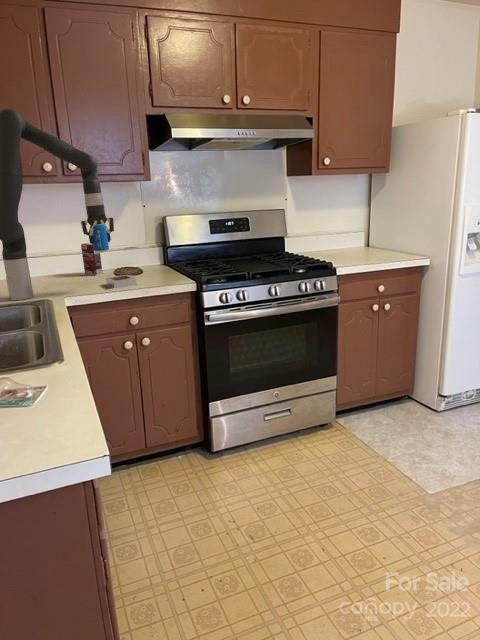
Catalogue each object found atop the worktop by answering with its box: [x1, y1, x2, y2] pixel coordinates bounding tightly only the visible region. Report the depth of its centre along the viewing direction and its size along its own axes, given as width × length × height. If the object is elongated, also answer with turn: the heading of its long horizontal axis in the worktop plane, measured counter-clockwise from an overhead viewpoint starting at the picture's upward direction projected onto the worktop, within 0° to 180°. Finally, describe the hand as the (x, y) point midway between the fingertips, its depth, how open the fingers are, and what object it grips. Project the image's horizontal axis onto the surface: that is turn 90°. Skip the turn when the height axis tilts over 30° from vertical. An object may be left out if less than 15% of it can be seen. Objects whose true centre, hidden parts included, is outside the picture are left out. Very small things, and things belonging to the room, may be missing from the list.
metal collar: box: [105, 274, 138, 289], centre depth 219 cm, size 10×10×3 cm
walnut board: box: [99, 284, 114, 291], centre depth 219 cm, size 15×10×1 cm, turn 124°
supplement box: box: [80, 242, 103, 276], centre depth 248 cm, size 9×5×16 cm, turn 60°
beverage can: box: [89, 224, 110, 253], centre depth 209 cm, size 6×6×12 cm
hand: (100, 242), depth 210 cm, fingers closed on beverage can, 6 cm apart
